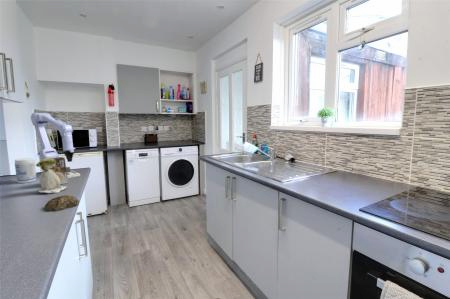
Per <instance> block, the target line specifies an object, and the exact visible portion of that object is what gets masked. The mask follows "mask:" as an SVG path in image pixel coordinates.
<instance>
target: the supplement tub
mask: <svg viewBox="0 0 450 299" xmlns="http://www.w3.org/2000/svg"><path fill="white" fill-rule="evenodd" d="M14 168H15V169H14V170H15V174H16V175H15V176H16V183H18V184H27V183H28V184H29V183H33V182H36V181H37V179H38V178H37V170H36V163H35V158H34V157H24V158H17V159H14Z"/></svg>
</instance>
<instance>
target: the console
mask: <svg viewBox="0 0 450 299" xmlns="http://www.w3.org/2000/svg"><path fill="white" fill-rule="evenodd" d="M80 176H81V173H79V172H77V171H74V170H71V169H70V172H67V177H68V179H71V178H74V177H80Z"/></svg>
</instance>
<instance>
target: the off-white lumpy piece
mask: <svg viewBox="0 0 450 299" xmlns="http://www.w3.org/2000/svg"><path fill="white" fill-rule="evenodd" d="M58 164H59V162H56V160H55V159H51V158H48V159H42V160H39V161H38V162H36V163H35V167H38V168H40V169H41V170H42V171H41V173H40V177H39V183H40V188H39V189H37V190H36V191H37V192H38V193H42V194H44V193H45V194H53V193H55V194H57V193H58V194H59V193H60V192H61V191H63V190H65V189H67V186H63V185H59V184H58V183H60V179H59V177H58V176H57V175H56V174H55V173H54V172H53V171H52V170H51V168H52V167H53V166H57V165H58Z"/></svg>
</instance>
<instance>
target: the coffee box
mask: <svg viewBox="0 0 450 299" xmlns="http://www.w3.org/2000/svg"><path fill="white" fill-rule="evenodd" d="M65 158H66V157H62V156H60V157H58V158H51V159H55V160H56V162H59V164H58V165H57V166H53V167H52V168H51V170H52V171H53V172H54V173H55V174H56V175H57V176H58V177H59V179H60V183H58V184H59V185H60V186H62V185H64V184H69V178H68V177H67V170H66V167H67V165H66V159H65Z"/></svg>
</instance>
